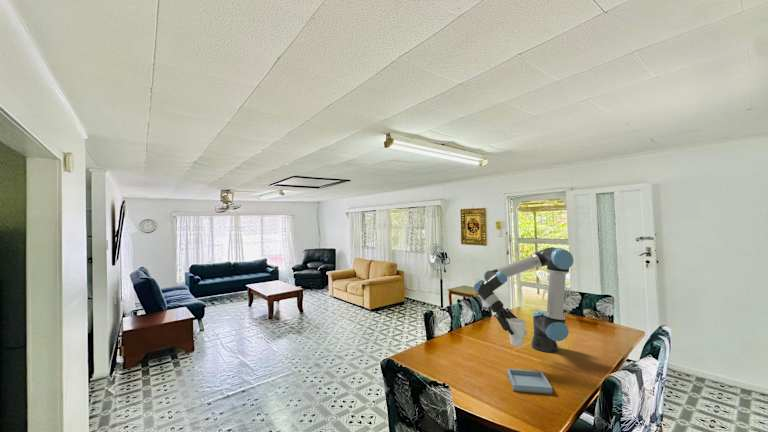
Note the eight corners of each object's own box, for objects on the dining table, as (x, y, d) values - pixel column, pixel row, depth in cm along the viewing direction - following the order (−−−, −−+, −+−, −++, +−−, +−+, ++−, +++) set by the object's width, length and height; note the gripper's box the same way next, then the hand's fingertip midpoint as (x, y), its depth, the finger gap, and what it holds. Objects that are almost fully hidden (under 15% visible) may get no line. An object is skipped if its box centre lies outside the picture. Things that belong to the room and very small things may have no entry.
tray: (542, 376, 161) (541, 371, 161) (552, 394, 144) (552, 387, 145) (507, 374, 165) (507, 368, 165) (513, 391, 148) (513, 384, 148)
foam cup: (504, 341, 179) (504, 318, 179) (520, 340, 180) (519, 317, 180) (513, 347, 169) (512, 323, 170) (529, 346, 170) (528, 323, 171)
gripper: (499, 303, 194) (525, 335, 182) (480, 310, 179) (508, 346, 167) (507, 296, 190) (534, 328, 178) (489, 303, 175) (517, 338, 163)
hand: (522, 337), depth 172 cm, fingers closed on foam cup, 9 cm apart
